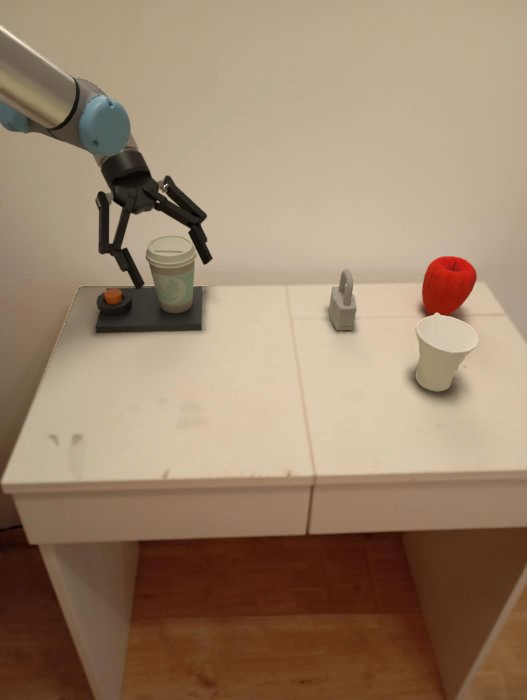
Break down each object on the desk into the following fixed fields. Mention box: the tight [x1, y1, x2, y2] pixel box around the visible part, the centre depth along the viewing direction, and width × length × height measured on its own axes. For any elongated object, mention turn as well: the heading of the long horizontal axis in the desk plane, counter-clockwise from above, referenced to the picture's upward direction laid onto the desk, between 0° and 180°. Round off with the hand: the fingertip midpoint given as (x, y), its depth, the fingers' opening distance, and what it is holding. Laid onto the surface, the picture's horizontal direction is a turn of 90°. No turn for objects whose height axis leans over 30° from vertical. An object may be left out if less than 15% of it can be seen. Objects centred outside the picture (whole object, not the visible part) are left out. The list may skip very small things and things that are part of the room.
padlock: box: [328, 268, 357, 331], centre depth 83 cm, size 7×4×10 cm, turn 5°
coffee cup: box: [145, 234, 198, 313], centre depth 82 cm, size 8×9×12 cm
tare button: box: [104, 289, 123, 304], centre depth 84 cm, size 3×3×2 cm
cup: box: [415, 313, 480, 393], centre depth 72 cm, size 9×9×10 cm
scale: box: [95, 286, 203, 334], centre depth 86 cm, size 18×12×3 cm, turn 95°
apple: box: [421, 255, 478, 317], centre depth 86 cm, size 9×9×11 cm
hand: (176, 274), depth 81 cm, fingers open, 13 cm apart
